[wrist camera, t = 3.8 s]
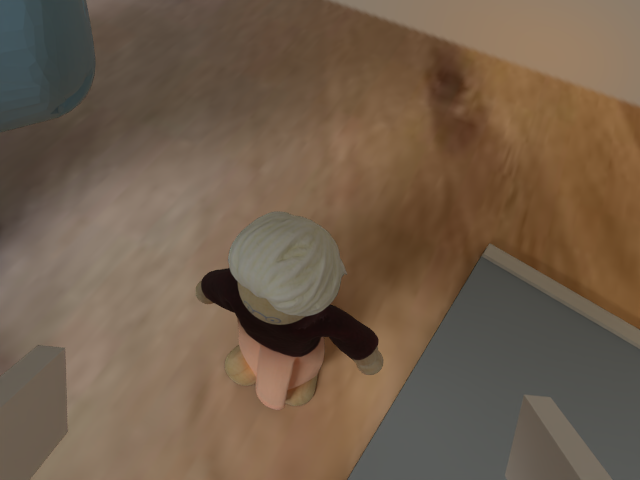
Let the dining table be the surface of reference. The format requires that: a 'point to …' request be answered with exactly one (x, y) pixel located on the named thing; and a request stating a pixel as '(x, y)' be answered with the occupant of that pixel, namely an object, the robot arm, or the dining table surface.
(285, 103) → the dining table surface
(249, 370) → the grandmother figurine
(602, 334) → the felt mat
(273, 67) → the dining table surface
